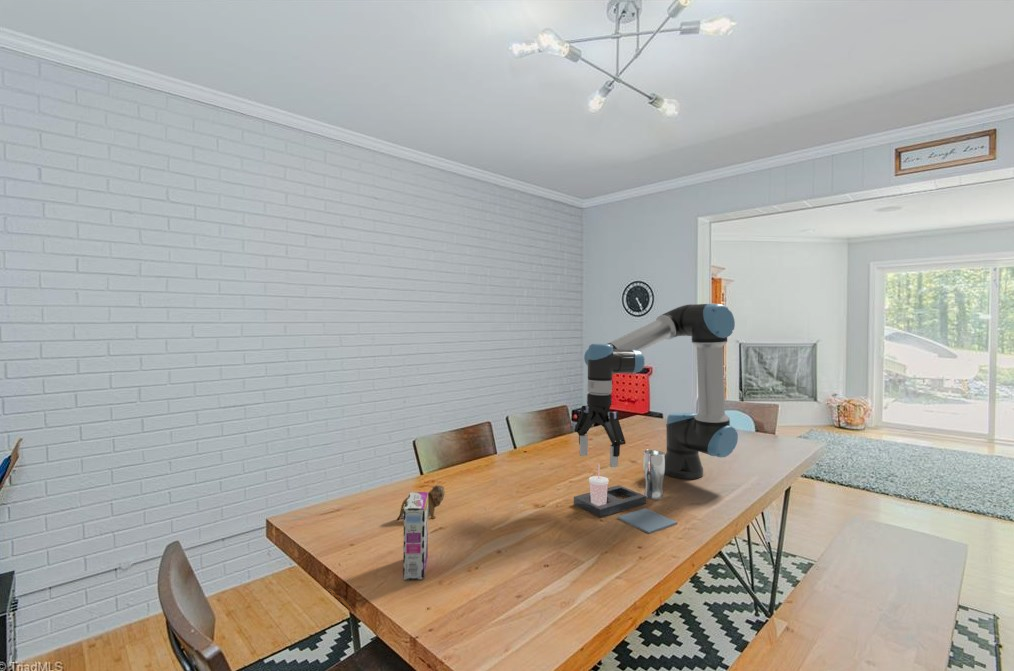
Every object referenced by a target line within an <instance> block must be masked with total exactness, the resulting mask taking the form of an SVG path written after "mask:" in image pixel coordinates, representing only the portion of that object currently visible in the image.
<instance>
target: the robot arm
mask: <svg viewBox="0 0 1014 671" xmlns="http://www.w3.org/2000/svg"><path fill="white" fill-rule="evenodd" d="M735 323H736V322H735V317H734V314H733V313H732V311H731V309H729V307H728V306H726V305H725V304H722V303H721V304H720V303H711V302H710V303H700V304H699V303H698V304H693V303H692V304H691V303H690V304H685V305H681V306H678V307H675V308H673V309H671V310H669V311H667V312H665V313H662V314H660V315H659V316H657V317H656V319H655V320H654V321H652V322H650V323H648V324H646V325H644V326H641V327H639V328H637V329H635V330H634V331H631V332H629V333H627V334H625V335H623V336H622V335H621V337H619V338H617V339H616V338H615V339H614V340H612V341H609V342H607V343H591V344H589V346H588V349H587V350H586V351H585V353H584V356H583V358H584V362H585V364H586V366H587V392H588V393H587V395H586V396H587V397H586V403H587V405H582V406H581V408H580V409H581V410H580V414H579V415H578V416H579V417H578V419H577V422H576V424H575V427H574V429H573V430H574V433H577V434H578V445H579V457H584V456H586V457H587V456H588V451H589V450H588V448H589V443H588V442H589V435H588V431H589V430H590V428H592V426H593V425H594V424H595V423H596V424H598V425H601V427H603V428H604V431H605V432H606V435H607V436H608V439H609V441H610V442H611V445H610V446H609V468H611V469H612V468H616V467H619V457H620V454H621V451H620V450H621V449H620V448H621V446H622V445H625V444H626V438H625V437H624V433H623V429H622V426H621V424H620V421H619V420H620V419H619V413H618V411H611V410H610V408H611V407H612V404H613V401H612V400H613V399H612V398H613V397H612V396H613V395H612V392H613V374H614V375H615V374H634V373H639V372H642V370H643V369H644V367H645V356H644V354H643V353H642V351H643V350H645V349H647V348H650V347H652V346H653V345H654V346H655V345H656V344H658V343H660V342H662V341H664V340H672V339H675V338H677V337H691V343H692V344H693V345H694V346H695V347H696V367H697V368H696V369H697V370H696V371H697V394H698V395H697V396H698V397H697V398H698V401H697V402H698V403H697V404H698V412H675V413H674V412H673V413H670V414H668V415H667V418H666V424H665V426H666V451H665V473H664V475H666V476H669V477H672V478H677V479H685V480H686V479H687V480H691V479H692V480H693V479H699V478H702V477H703V476H704V467H703V465H702V461H701V458H700V454H699V453H702V454H706V455H708V456H711V457H715V458H726V457H728V456H730V455H731V454H732V453H733V452H734V450H735V448H736V447H737V444H738V440H739V435H738V431H737V430H736V428H735V427H733V426H732V425H731V420H730V417H729V416H728V415H727V414H726V411H725V410H726V409H725V381H724V380H725V377H724V375H725V374H724V346H726V344H727V342H728V337H730V336H732V334H733V331H734V330H735Z"/></svg>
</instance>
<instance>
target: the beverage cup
mask: <svg viewBox="0 0 1014 671" xmlns="http://www.w3.org/2000/svg"><path fill="white" fill-rule="evenodd" d="M600 472H601V467H600V462H598V463H597V475H594V476H590V477H589V478H588V482H589V493H590V495H591V503H593V504H595V505H597V506H600V505H604V504H606V501H607V488H609V487H608V485H609V482H610V480H609V478H608V477H605V476H601V474H600Z"/></svg>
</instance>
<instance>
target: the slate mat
mask: <svg viewBox="0 0 1014 671" xmlns="http://www.w3.org/2000/svg"><path fill="white" fill-rule="evenodd" d="M616 519H618V520H620V521H622V522H624V523H626V524H628V525H630V526H632V527H635V528H637V529H638V530H640V531H643V532H645V533H647V534H648V535H649V534H652V533H654V532H657V531H661V530H663V529H666V528H669V527H673V526H675V525H677V524H678V521H675V520H673V519H672V518H669V517H666V516H664V515H662V514H659V513H658V512H656V511H655V512H654V510H650V509H648V508H645V507H643V508H640V509H637V510H634V511H631V512H628V513H624V514H621V515H619V516H617V517H616Z"/></svg>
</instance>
